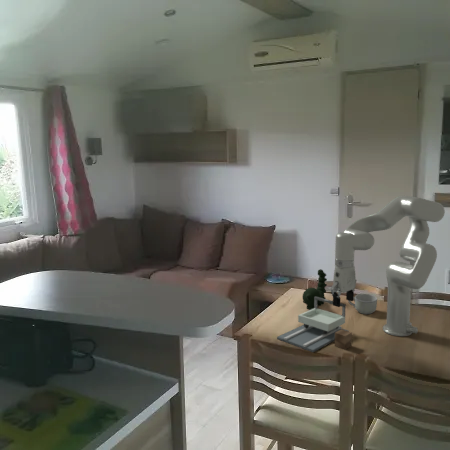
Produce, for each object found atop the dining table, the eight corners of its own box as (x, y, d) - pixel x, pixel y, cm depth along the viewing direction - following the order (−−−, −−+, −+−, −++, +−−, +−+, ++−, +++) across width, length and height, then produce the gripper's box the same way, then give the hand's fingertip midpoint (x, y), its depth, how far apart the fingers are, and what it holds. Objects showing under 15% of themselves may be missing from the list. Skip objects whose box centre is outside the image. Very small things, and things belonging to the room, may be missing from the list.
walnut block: (351, 346, 199) (351, 332, 198) (344, 349, 196) (345, 336, 194) (341, 342, 203) (341, 329, 201) (334, 346, 199) (334, 332, 198)
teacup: (379, 310, 238) (379, 295, 237) (373, 317, 229) (373, 301, 228) (351, 306, 246) (352, 291, 244) (345, 312, 237) (345, 297, 235)
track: (349, 332, 212) (349, 329, 212) (313, 352, 194) (313, 348, 193) (313, 321, 226) (313, 318, 225) (277, 339, 207) (277, 335, 207)
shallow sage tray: (345, 328, 212) (345, 303, 210) (328, 337, 203) (328, 311, 201) (315, 319, 224) (315, 295, 222) (298, 327, 215) (298, 303, 213)
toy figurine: (313, 301, 259) (297, 311, 238) (315, 266, 258) (298, 274, 236) (330, 303, 255) (315, 314, 233) (332, 268, 253) (316, 276, 231)
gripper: (340, 268, 185) (339, 310, 188) (364, 260, 196) (362, 300, 199) (324, 265, 190) (323, 306, 193) (348, 257, 202) (347, 296, 205)
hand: (343, 303), depth 196 cm, fingers open, 9 cm apart
